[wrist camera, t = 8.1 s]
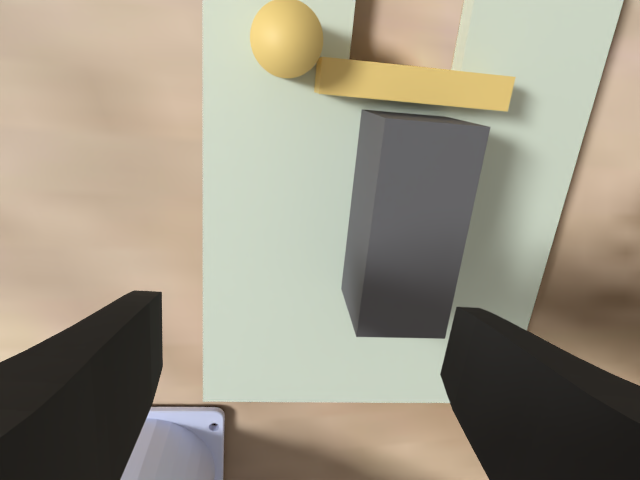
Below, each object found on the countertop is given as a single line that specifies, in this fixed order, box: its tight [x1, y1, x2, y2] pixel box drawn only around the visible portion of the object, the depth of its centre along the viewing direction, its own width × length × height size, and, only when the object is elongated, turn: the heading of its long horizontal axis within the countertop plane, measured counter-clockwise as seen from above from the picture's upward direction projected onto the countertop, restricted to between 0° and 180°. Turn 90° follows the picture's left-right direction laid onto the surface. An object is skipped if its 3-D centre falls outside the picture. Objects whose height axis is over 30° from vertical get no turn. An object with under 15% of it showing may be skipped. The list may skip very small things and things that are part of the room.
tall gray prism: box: [341, 109, 490, 339], centre depth 17 cm, size 8×4×4 cm, turn 175°
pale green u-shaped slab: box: [203, 0, 624, 403], centre depth 18 cm, size 20×16×4 cm
